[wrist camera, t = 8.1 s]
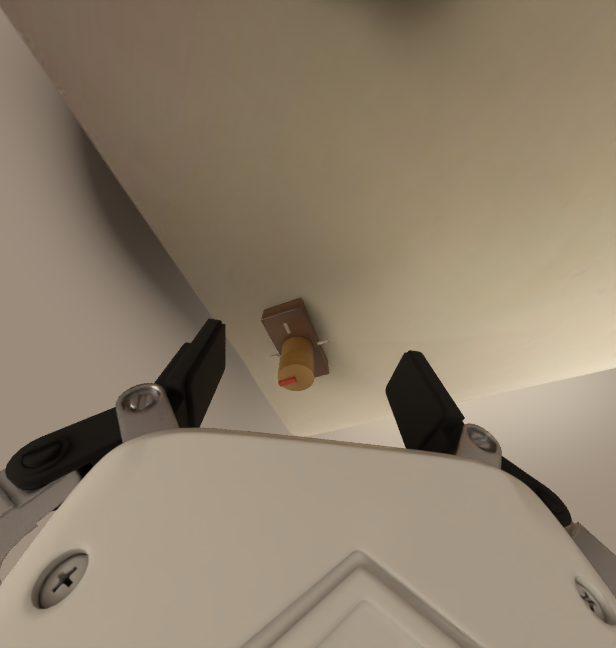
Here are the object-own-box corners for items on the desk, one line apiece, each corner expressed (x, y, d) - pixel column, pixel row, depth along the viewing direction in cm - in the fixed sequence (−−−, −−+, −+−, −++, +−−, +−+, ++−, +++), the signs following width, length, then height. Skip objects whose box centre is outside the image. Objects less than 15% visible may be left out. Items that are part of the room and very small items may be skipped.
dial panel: (252, 313, 29) (248, 324, 27) (313, 293, 28) (313, 303, 25) (286, 373, 35) (284, 386, 32) (338, 358, 33) (340, 371, 31)
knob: (306, 332, 28) (306, 361, 23) (317, 356, 30) (319, 387, 25) (276, 342, 28) (270, 372, 24) (289, 364, 30) (286, 396, 26)
